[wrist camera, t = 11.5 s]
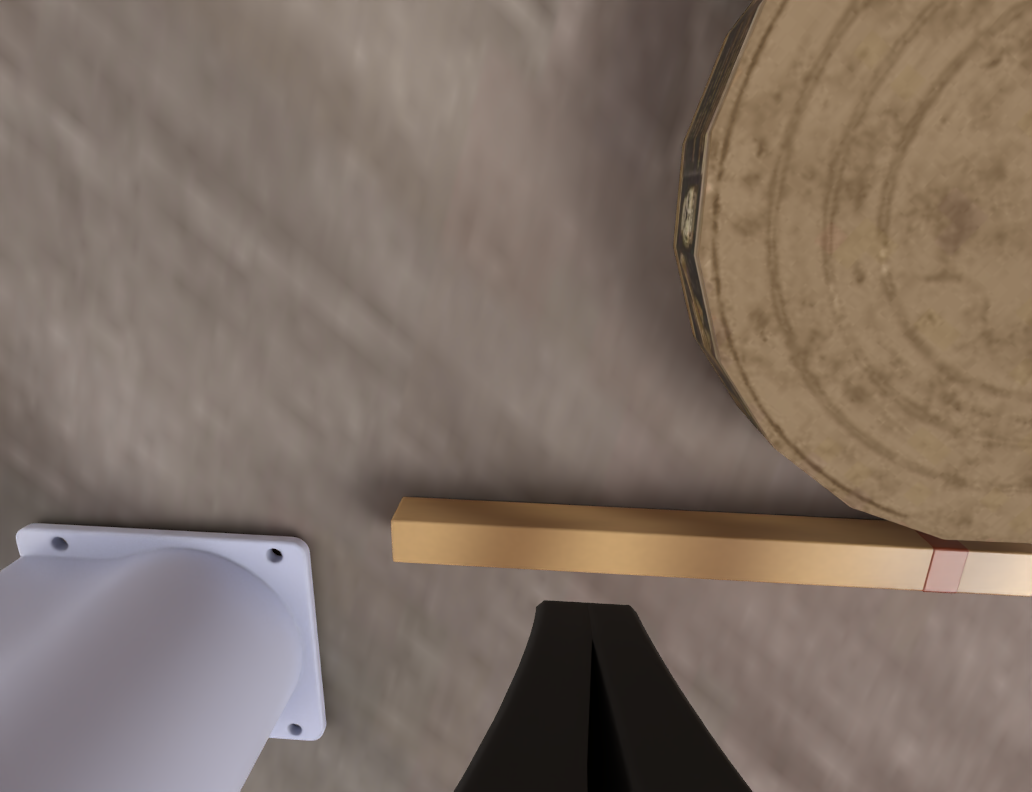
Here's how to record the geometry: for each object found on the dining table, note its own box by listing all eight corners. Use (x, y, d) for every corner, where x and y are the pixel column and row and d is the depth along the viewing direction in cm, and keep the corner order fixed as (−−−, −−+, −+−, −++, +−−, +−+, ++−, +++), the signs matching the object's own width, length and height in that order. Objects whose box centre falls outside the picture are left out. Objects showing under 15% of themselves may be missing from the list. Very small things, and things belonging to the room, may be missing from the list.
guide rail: (404, 535, 19) (392, 563, 18) (402, 494, 19) (389, 520, 17) (994, 566, 18) (1032, 598, 17) (1007, 524, 18) (1047, 554, 16)
